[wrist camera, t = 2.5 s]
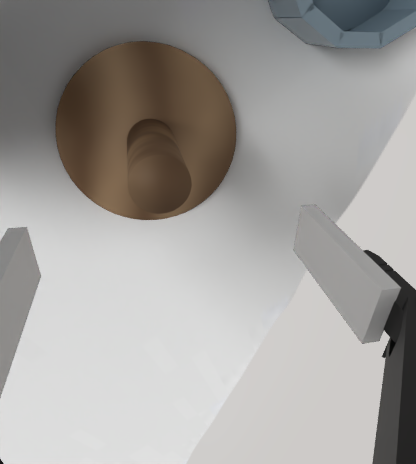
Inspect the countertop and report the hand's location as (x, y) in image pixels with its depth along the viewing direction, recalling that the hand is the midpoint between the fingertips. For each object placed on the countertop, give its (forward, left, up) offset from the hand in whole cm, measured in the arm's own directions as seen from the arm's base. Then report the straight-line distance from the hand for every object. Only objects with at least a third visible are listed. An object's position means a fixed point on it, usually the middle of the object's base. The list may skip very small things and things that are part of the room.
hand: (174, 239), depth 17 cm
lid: (0, 0, -16) cm, 16 cm away
